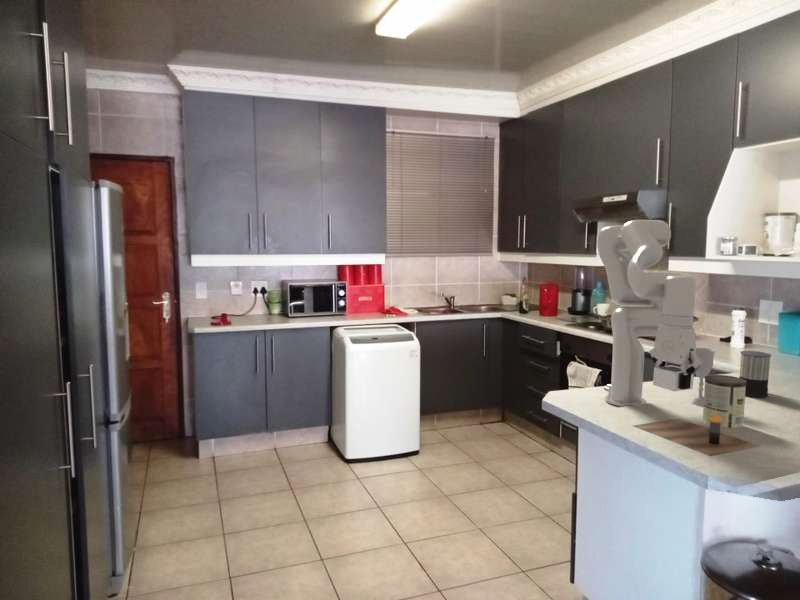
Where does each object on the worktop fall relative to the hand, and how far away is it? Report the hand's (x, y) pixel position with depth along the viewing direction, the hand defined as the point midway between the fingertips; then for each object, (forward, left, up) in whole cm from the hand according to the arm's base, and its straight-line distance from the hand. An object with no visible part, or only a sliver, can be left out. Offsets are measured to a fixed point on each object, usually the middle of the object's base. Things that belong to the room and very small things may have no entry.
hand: (672, 384), depth 154 cm
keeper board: (+7, 0, -13) cm, 15 cm away
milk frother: (-22, +60, -14) cm, 65 cm away
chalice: (-17, +33, -14) cm, 39 cm away
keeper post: (+13, 0, -12) cm, 18 cm away
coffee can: (+2, +18, -14) cm, 23 cm away
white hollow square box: (0, 0, -1) cm, 1 cm away
